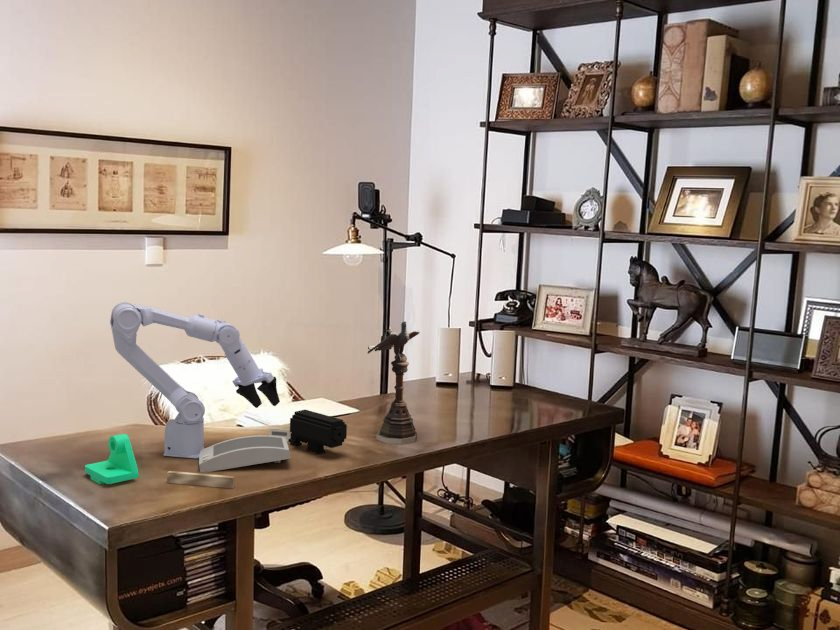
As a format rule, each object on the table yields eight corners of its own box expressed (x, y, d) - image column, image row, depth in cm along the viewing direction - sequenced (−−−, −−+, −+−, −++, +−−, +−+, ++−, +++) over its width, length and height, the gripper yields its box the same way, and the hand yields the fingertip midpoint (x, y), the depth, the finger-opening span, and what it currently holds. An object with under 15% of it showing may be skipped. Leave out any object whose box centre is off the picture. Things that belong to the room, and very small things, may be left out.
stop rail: (167, 482, 198) (167, 472, 198) (169, 481, 199) (169, 470, 199) (232, 488, 196) (232, 478, 196) (234, 486, 197) (234, 476, 197)
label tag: (268, 440, 236) (269, 428, 235) (269, 440, 236) (269, 427, 236) (289, 442, 235) (289, 429, 234) (290, 441, 235) (290, 429, 235)
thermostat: (199, 460, 218) (199, 437, 217) (287, 456, 223) (287, 434, 222) (198, 473, 207) (198, 449, 206) (290, 469, 212) (290, 446, 211)
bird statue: (354, 433, 246) (357, 315, 241) (388, 427, 255) (393, 312, 250) (389, 447, 234) (394, 322, 229) (425, 440, 242) (430, 320, 238)
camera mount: (83, 476, 201) (83, 434, 199) (113, 469, 206) (113, 428, 205) (107, 489, 193) (107, 445, 191) (138, 482, 198) (138, 439, 197)
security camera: (300, 441, 236) (301, 406, 235) (347, 455, 225) (349, 419, 223) (281, 446, 231) (282, 410, 230) (329, 461, 219) (330, 424, 218)
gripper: (269, 352, 221) (294, 394, 226) (235, 357, 231) (260, 398, 235) (252, 367, 216) (278, 409, 221) (218, 372, 226) (243, 413, 230)
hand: (267, 404), depth 228 cm, fingers open, 7 cm apart
